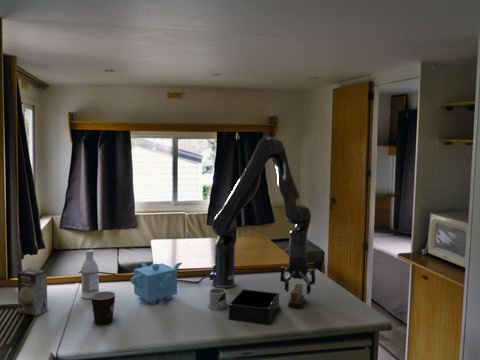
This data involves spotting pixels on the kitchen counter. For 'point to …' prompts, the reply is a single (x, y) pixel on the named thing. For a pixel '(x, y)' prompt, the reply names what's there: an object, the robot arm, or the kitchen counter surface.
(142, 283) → the teakettle
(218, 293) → the mug
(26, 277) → the coffee box
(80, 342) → the kitchen counter surface
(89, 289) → the bath foam
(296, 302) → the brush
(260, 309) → the black open box
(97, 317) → the coffee mug
